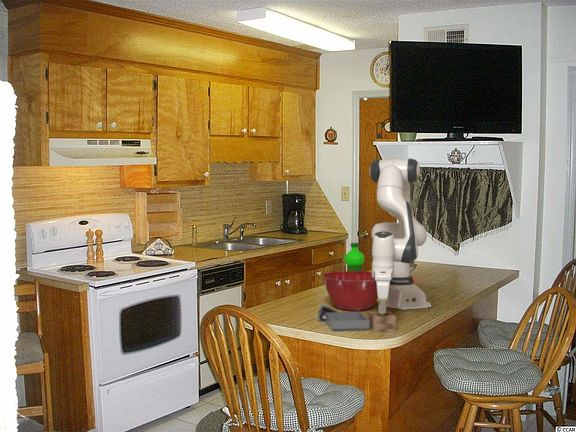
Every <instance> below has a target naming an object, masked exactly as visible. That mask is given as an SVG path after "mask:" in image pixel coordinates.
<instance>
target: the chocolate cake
mask: <svg viewBox="0 0 576 432" xmlns="http://www.w3.org/2000/svg"><path fill="white" fill-rule="evenodd" d="M334 312H339V311H337V310H335V309H333V308H332V307H329V306H327V305H325V304H324V303H323V304H322V303H321V305H320V308H319V310H318V314H317V316H318V318H317V319H318V321H319V322H320V323H326V313H334Z"/></svg>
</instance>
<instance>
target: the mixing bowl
mask: <svg viewBox="0 0 576 432" xmlns="http://www.w3.org/2000/svg"><path fill="white" fill-rule="evenodd" d="M322 278H323V282H324V285H325V287H326V291H327V294H328V296H329V298H330V300H331V302H332V304H334V306H336V307H337V308H338V309H339V310H342V311H344V312H363V311H367V310H368V309H370V308H372V307H373V306H374V304H375V303H376V302H377V298H378V295H377V285H376V281H375V279H374V278H373V277H372V271H364V270H362V271H347V270H340V271H331V272H330V271H329V272H326V273H323V274H322Z"/></svg>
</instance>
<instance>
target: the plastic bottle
mask: <svg viewBox="0 0 576 432" xmlns="http://www.w3.org/2000/svg"><path fill="white" fill-rule="evenodd" d="M359 246H360V243H359V242H351V243H350V248H351V250H350V251H348V252H347V253H346V254H345V256H344V263H345V265H346V271H363V264H364V262H365V255H364V254H363V253H362V252H361V251H360V250H359Z"/></svg>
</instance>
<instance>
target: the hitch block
mask: <svg viewBox="0 0 576 432" xmlns="http://www.w3.org/2000/svg"><path fill="white" fill-rule="evenodd" d="M367 314H368V315H367V318H368V319H369V320H370V328H369V330H371V331H372V332H373V333H390V332H391V333H392V332H393V333H394V332H395V333H396V332H397V316H396V315H395V314H393V312H391V311H386V316H378V311H368V313H367Z"/></svg>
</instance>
